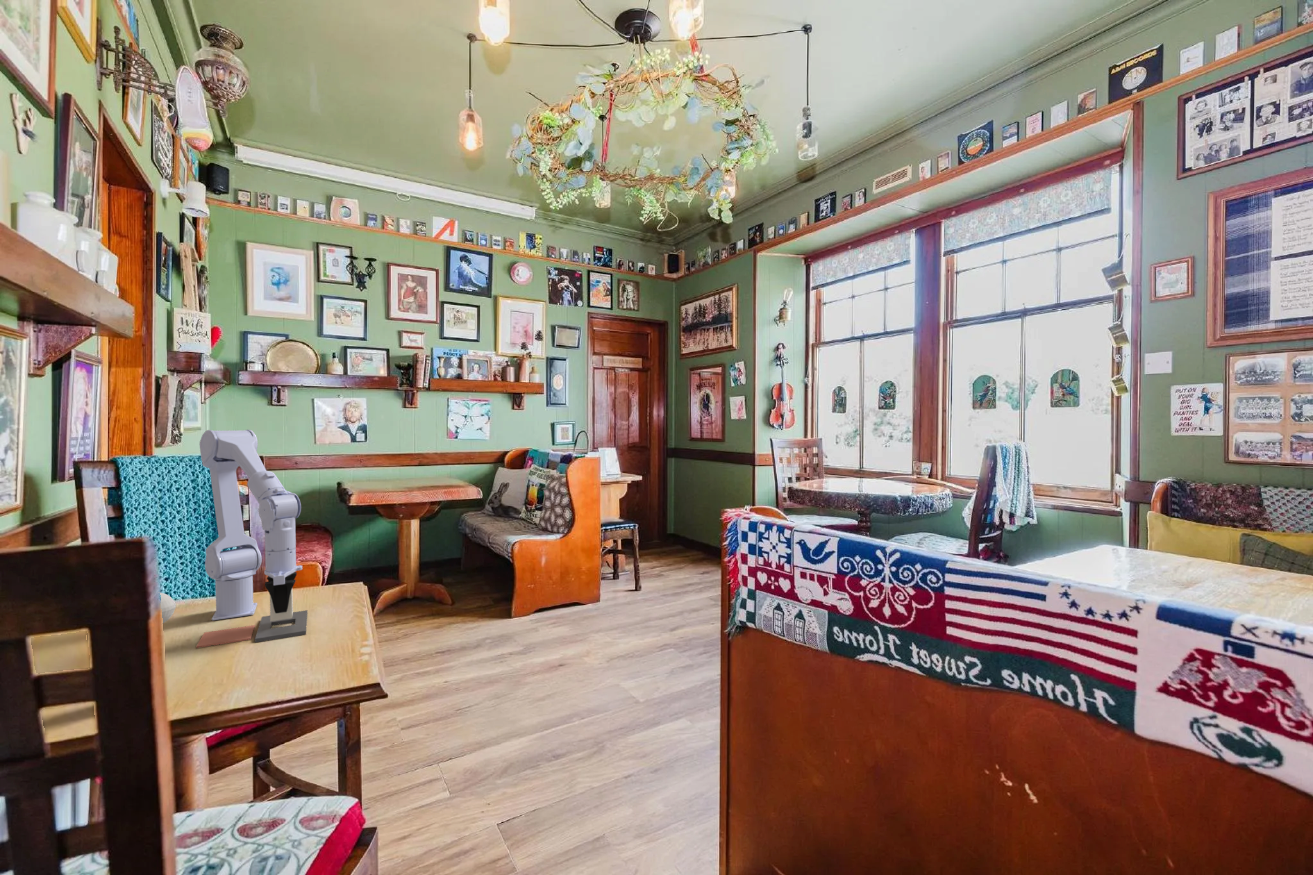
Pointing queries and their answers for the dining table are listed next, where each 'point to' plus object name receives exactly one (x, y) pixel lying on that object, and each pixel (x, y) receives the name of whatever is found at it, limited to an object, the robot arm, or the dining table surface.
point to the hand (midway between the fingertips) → (281, 609)
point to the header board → (282, 632)
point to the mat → (226, 636)
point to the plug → (282, 615)
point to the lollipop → (167, 606)
